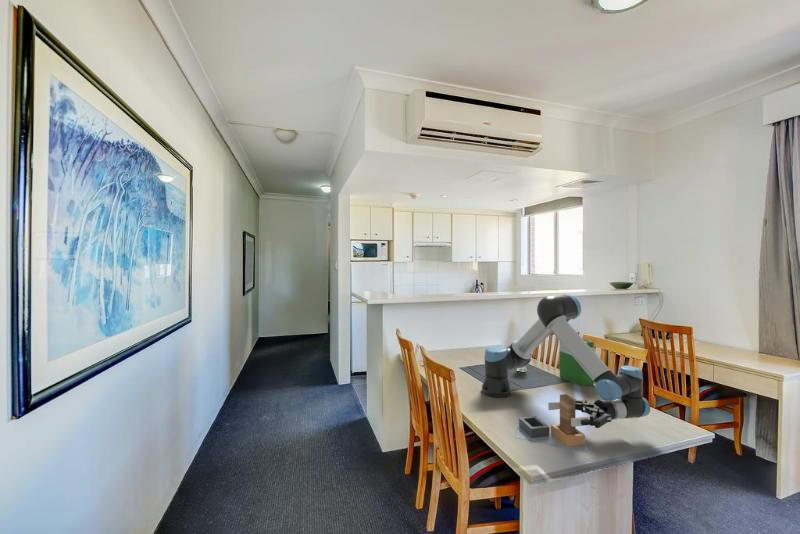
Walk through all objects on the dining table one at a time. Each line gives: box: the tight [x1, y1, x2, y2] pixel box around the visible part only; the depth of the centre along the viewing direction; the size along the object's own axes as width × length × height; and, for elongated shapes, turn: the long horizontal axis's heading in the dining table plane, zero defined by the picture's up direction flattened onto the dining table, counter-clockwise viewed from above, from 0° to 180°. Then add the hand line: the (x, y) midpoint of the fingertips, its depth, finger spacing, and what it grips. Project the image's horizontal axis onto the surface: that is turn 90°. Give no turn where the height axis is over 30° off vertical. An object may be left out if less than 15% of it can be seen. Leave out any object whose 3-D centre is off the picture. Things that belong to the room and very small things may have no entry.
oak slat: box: [559, 393, 577, 435], centre depth 127 cm, size 3×5×16 cm, turn 9°
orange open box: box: [550, 423, 586, 446], centre depth 127 cm, size 7×9×4 cm
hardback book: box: [559, 338, 595, 387], centre depth 192 cm, size 18×7×24 cm, turn 15°
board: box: [515, 423, 588, 452], centre depth 130 cm, size 24×14×1 cm, turn 66°
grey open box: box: [518, 415, 550, 438], centre depth 133 cm, size 7×9×4 cm
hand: (559, 413), depth 126 cm, fingers open, 13 cm apart
